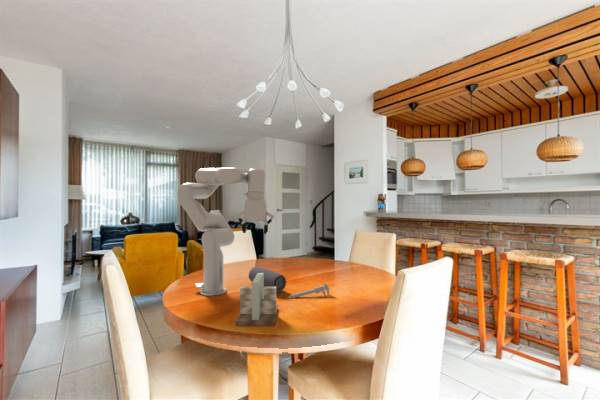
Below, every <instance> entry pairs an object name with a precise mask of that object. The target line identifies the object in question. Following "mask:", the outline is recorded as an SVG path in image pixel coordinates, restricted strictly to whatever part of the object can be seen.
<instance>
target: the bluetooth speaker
mask: <svg viewBox="0 0 600 400" xmlns="http://www.w3.org/2000/svg"><path fill="white" fill-rule="evenodd" d="M257 273H264V287H276V293H277V292H282V291H283V290H284V289H285V288H286V286H287V279H286V277H285V275H283V274H281V273H279V272H276V271H274V270H271V269H268V268H263V267H259V266H254V267H252V268H251V269H250V270H249V272H248V279H249V280H250V282H251V283H252V282H253V280H254V278H255V277H256V275H257Z"/></svg>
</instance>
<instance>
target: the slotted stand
mask: <svg viewBox="0 0 600 400" xmlns="http://www.w3.org/2000/svg"><path fill="white" fill-rule="evenodd" d="M277 313H278V305H277V291H276V287H264V299H261V301H260V318H259V320H252V286H248V285H247V286H243V285H242V286H241V287H239V315H238V317H237V319H236V321H235V325H236V326H275V323H276V318H277Z"/></svg>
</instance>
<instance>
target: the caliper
mask: <svg viewBox="0 0 600 400" xmlns="http://www.w3.org/2000/svg"><path fill="white" fill-rule="evenodd" d="M319 293H322V294H323V296H326V294H327V296H329V295H330V286H329V284H327V283H326V282H325V283H323V285H321V286H316V287H314V288H312V289H308V290H305V291H301V292H296V293H294V294H290V296H287V299H296V298H300V297H303V296H307V295H310V294H316V295H317V294H319Z"/></svg>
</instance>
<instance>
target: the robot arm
mask: <svg viewBox="0 0 600 400" xmlns="http://www.w3.org/2000/svg"><path fill="white" fill-rule="evenodd" d="M265 174H266V172H265V170H263V169H261V168H250V169H246V168H240V167H216V168H215V167H207V168H206V167H204V168H202V167H201V168H199V169H198V170H197V171H196V172H195V174H194V178H195V180H196V182H185V183H181V184H180V186H178V189H177V201H178V203H179V205H180V206H181V207H182V209H183V210H184V211H185V212H186V214H187V215H188V217H189V218H190V220H191V222H192V223H193V225H194V226H195V228H196V229H197V231H199V232H203V233H202V236H201V245H202V250H203V282H202V283H195V289H200V291H199V293H200V295H202V296H205V297H206V296H209V297H214V295H215V296H220V295H224V294H225V293H226V292H227V287H225V286H224V254H223V251H222V248H221V247H227V246H230V245H232V244H233V242H235V233H234V230H233V229H232V228H231V226H230V225H229V223H228V222H227V220H226V219H225V217H224V216H223V215H222V214H220V213H218V212H208V211H207V210H206V209H205V207H204V206H203V205H202V203H200V202H199V201H198V200H206V199H208V198H209V197H211V196H212V195H213V193H214V192H215V191H216V190H217V189H218V188H219V186H224V185H240V186H247V192H246V193H244V196H245V197H246V198H245V200H244V207H243V211H241V212H239V213H237V214H236V215H235V216H236V217H237V220H238V221H239V222H240V224H241V231H242V233H243V234H245V233H247V224H246V223H247V222H249V221H250V222H263V223H264V225H263V234H264V235H266V234H267V233H268V231H269V225H270V223H271V222H273V220H274V218H275V215H274V214H272V213H270V212H268V209H267V201H266V198H265V183H266V182H265V181H266V175H265ZM241 216H242V217H243V218H242V217H241ZM267 216H268V217H269V220H267Z"/></svg>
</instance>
